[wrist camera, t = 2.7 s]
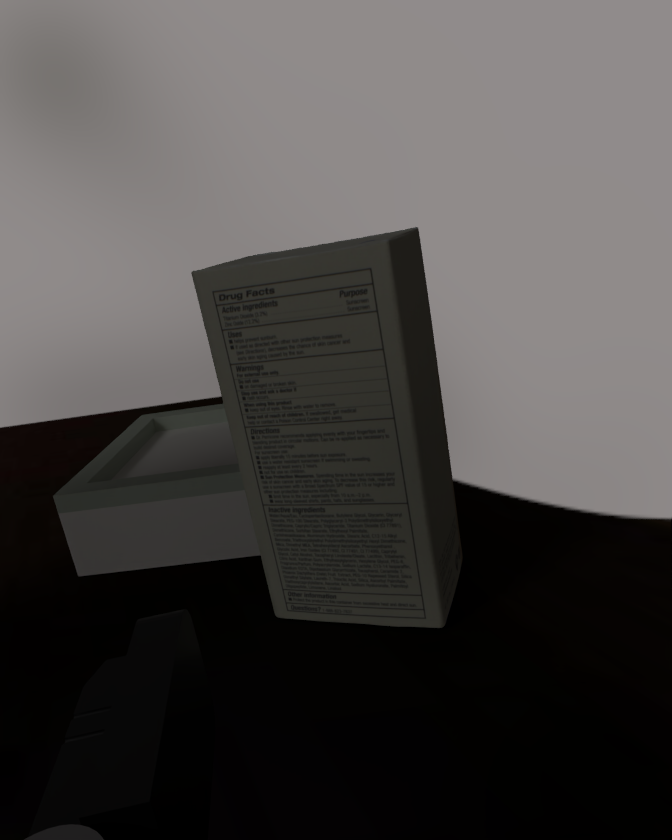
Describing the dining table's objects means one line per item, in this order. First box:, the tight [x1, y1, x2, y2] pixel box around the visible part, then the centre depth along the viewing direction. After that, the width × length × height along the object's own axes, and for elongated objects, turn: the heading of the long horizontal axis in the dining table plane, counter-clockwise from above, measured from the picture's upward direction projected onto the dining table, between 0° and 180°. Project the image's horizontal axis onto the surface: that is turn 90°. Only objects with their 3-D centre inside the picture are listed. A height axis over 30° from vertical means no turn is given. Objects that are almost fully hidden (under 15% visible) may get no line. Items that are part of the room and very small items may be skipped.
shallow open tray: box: [53, 404, 260, 576], centre depth 32 cm, size 11×11×4 cm
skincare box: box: [192, 227, 463, 628], centre depth 21 cm, size 6×4×12 cm
